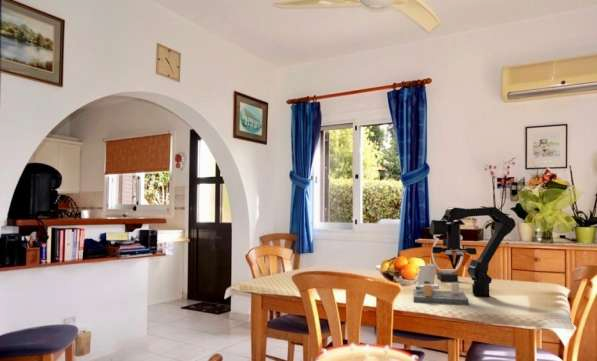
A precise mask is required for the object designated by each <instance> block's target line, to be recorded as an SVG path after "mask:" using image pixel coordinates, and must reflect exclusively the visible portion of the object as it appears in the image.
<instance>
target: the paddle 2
mask: <svg viewBox="0 0 597 361" xmlns="http://www.w3.org/2000/svg"><path fill="white" fill-rule="evenodd" d="M450 285H451V286H450V287H451V289H450V290H451V293H452V294H459V292H460V282H459V281H458V282H450Z"/></svg>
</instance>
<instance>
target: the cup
mask: <svg viewBox="0 0 597 361" xmlns="http://www.w3.org/2000/svg"><path fill="white" fill-rule="evenodd" d="M424 264H425V266H419V269H420V271H419V276H418V279H417V283H418V284H417V285H424V281H429V282H430V284H435V279H436V274H437V271H436V270H437V269H436V266H435V265H434V263H424ZM431 290H434V289H431Z"/></svg>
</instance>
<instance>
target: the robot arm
mask: <svg viewBox="0 0 597 361" xmlns="http://www.w3.org/2000/svg"><path fill="white" fill-rule="evenodd" d="M486 216H487V217H488V216H489V217H490V218H491V220H492V221H493V222H494V227H493V229H494V230H493V233H492V234H491V237H490V238H489V240H488V241H487V243H486V245H485V247H484V248H483V250H482V252H481V253H480V256H479V257H478V258H477V259H476V260H475V259H471V261H470V263H469V264H468V265H467V273H468V276H469V277H470V278H471V280H472V281H473V283H472V286H471V287H472V289H471V290H472V291H471V292H472V294H473V295H474V297H482V298H491V295H490V284H491V283H492V280H493V278H491V277H490V275H489V274H488V272H489V264H490V263H491V261H492V259H493V257H494V256H495V253H496V252H497V250H498V248H499V247H500V245H501V243H502V242H503V240H504V239H505V237H506V236H508V235H509V234H510V233H511V232H512V231H513V230H514V229H515V228H516V226H517V224H516V221H515V219H514V218H513V217H509V216H508V215H507V214H506V213H504V212H503V211H501V210H500V209H499V208H498V207H497V206H487V207H473V208H463V207H447V208H446V209H445V211H444V214H443V216H442V218H441V219H440V220H438V219H437V220H436V219H431V222H430V224H429V234H430V235H432V236H434V235H441V236H445V235H446V238H443V239H442V246H441V245H435V246H433V245H432V246H433V247H431V250H432V253H433V254H441V253H444V255H445V256H447V257H448V258H449V261H450V264H451V268H452V269H455V268H456V267H457V265H458V263H459V261H460V258H461V256H463V257H464V253H465V254H466V253H467V254H468V255H473V256H474V255H477V249H476V247H474V246H465V248H463V247H462V248H460V243H461V240H460V235H461V226H465V225H466V224H465V222H463V219H466V218H468V217H469V218H470V217H486ZM447 222H449V223H448V224H447ZM453 253H454V255H453ZM462 253H463V254H462Z"/></svg>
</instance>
